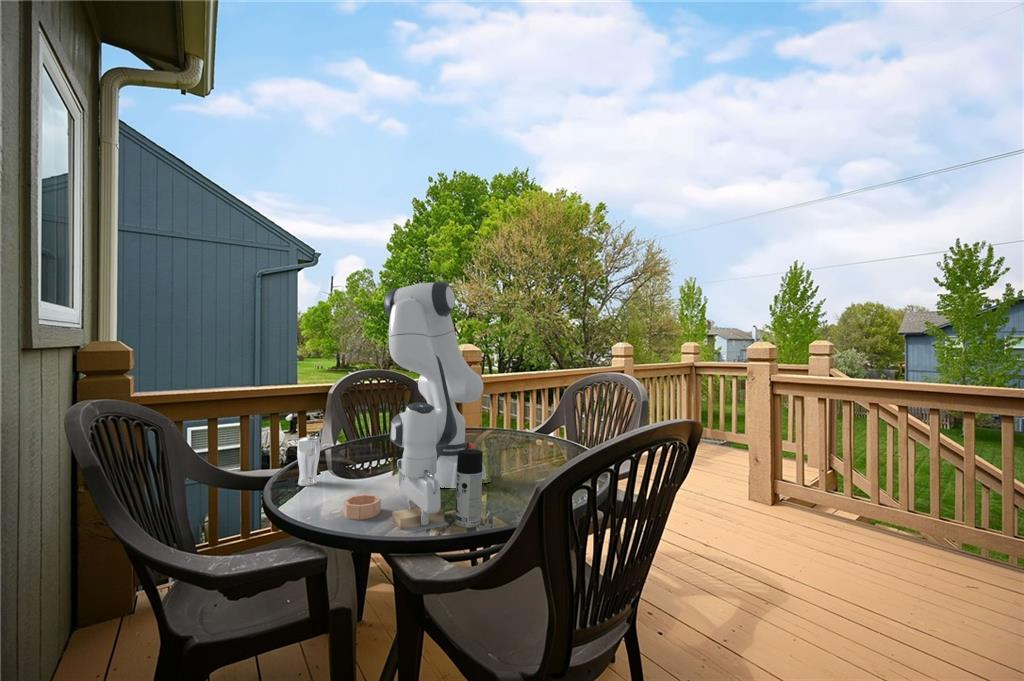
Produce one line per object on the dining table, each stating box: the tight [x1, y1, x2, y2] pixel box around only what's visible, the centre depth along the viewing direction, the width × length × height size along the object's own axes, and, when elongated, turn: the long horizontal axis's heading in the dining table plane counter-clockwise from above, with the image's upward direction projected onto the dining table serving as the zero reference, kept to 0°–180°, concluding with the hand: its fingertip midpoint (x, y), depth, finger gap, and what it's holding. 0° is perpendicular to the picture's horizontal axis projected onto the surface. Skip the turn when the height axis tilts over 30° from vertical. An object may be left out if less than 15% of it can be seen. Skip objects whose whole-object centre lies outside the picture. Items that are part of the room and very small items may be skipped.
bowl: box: [342, 493, 382, 521], centre depth 128 cm, size 9×9×5 cm
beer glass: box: [296, 436, 321, 487], centre depth 158 cm, size 7×7×15 cm
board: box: [391, 506, 445, 531], centre depth 123 cm, size 12×6×3 cm, turn 123°
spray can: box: [454, 448, 484, 528], centre depth 123 cm, size 7×7×20 cm
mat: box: [388, 516, 450, 535], centre depth 123 cm, size 12×12×2 cm
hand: (418, 519), depth 123 cm, fingers closed on board, 6 cm apart
